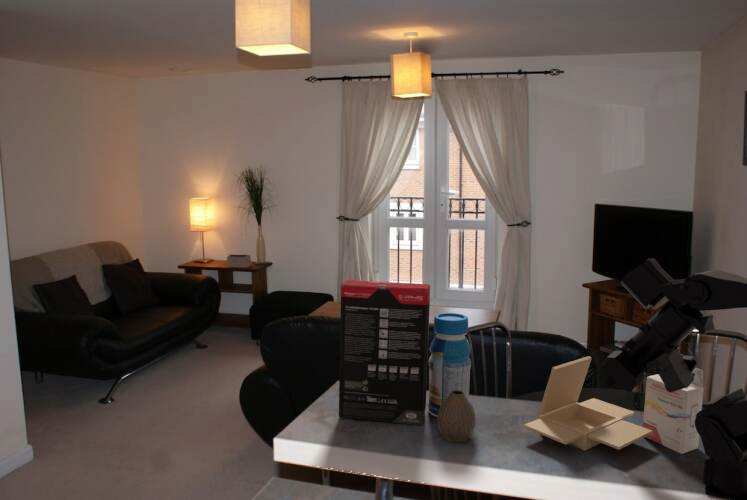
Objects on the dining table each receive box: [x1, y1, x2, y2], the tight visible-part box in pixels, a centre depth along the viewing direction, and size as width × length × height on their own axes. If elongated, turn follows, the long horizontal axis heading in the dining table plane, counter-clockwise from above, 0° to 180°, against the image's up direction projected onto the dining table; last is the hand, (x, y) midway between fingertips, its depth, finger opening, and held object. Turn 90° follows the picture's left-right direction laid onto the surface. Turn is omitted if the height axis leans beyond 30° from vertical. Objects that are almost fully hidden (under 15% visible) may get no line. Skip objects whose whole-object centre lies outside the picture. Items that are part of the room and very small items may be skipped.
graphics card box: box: [338, 279, 431, 426], centre depth 124 cm, size 17×7×27 cm, turn 82°
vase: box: [437, 390, 476, 443], centre depth 116 cm, size 7×7×9 cm
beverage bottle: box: [427, 312, 472, 419], centre depth 127 cm, size 8×8×20 cm
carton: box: [523, 397, 652, 452], centre depth 117 cm, size 16×22×3 cm
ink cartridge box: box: [642, 367, 704, 455], centre depth 115 cm, size 9×5×15 cm, turn 29°
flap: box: [538, 355, 593, 416], centre depth 122 cm, size 1×12×10 cm, turn 129°
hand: (609, 384), depth 114 cm, fingers closed
